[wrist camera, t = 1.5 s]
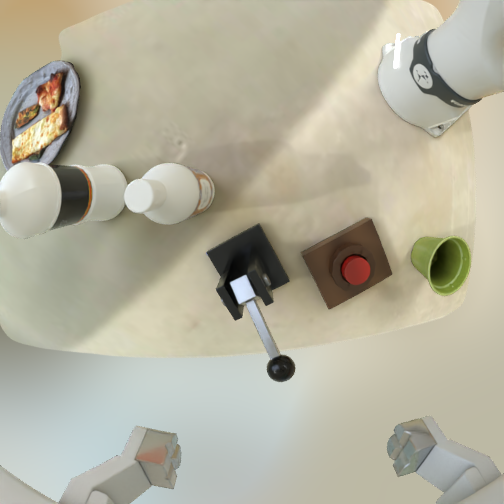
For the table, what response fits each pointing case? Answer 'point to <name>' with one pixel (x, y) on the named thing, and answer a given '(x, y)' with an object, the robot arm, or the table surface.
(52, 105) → the food plate
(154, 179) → the bath foam
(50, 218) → the vodka
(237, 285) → the lever
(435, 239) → the plant pot
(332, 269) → the button block
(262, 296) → the tap bracket
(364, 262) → the button
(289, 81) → the table surface
